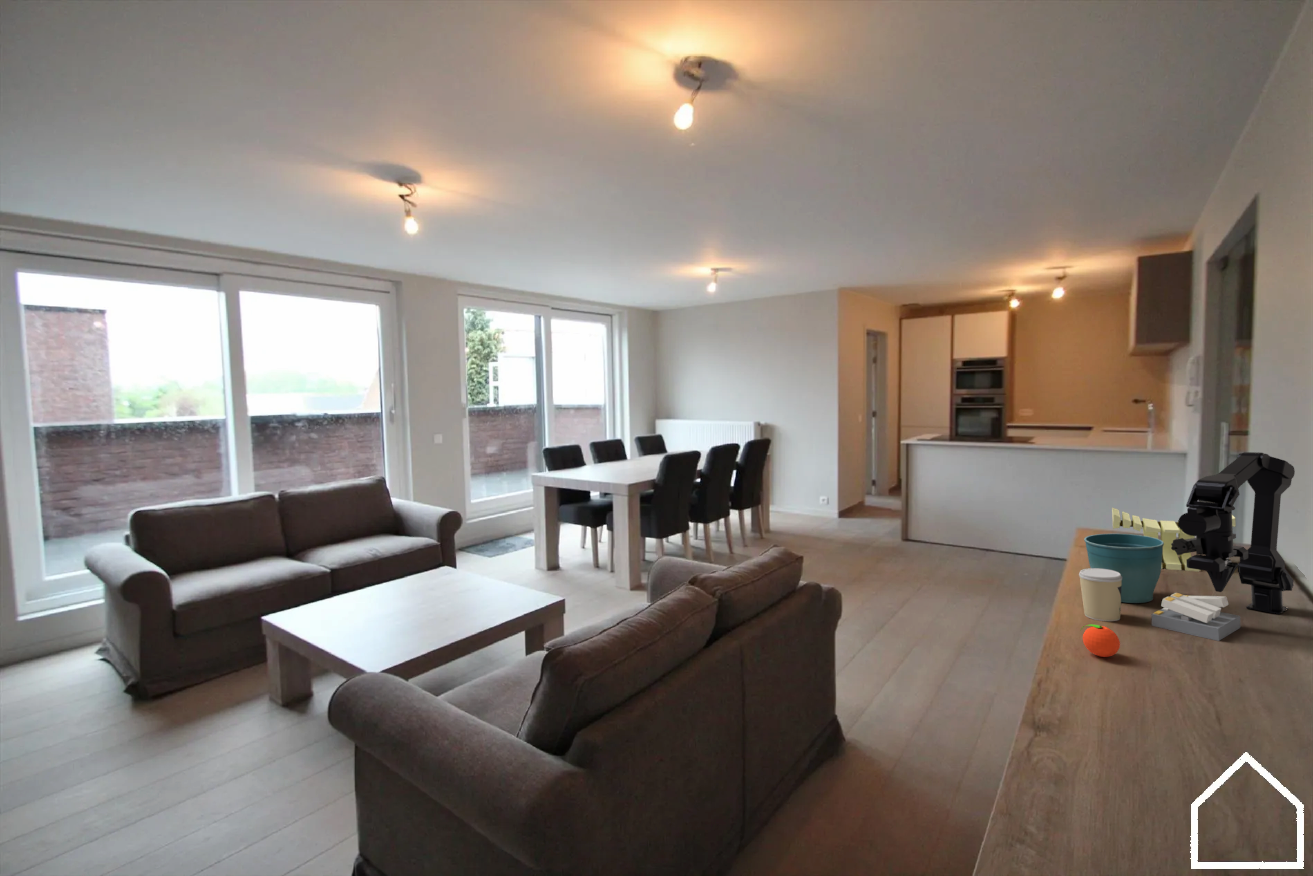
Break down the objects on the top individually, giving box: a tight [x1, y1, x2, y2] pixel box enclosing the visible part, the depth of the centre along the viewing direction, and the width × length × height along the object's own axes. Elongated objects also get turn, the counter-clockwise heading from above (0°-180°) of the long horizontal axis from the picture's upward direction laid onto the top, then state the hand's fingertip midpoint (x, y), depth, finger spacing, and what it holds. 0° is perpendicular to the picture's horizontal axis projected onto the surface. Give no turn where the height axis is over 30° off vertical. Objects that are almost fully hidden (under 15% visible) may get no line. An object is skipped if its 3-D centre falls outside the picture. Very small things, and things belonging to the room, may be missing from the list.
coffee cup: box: [1078, 567, 1122, 622], centre depth 159 cm, size 9×9×12 cm
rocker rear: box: [1183, 594, 1229, 608], centre depth 150 cm, size 3×9×2 cm, turn 29°
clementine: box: [1080, 623, 1121, 658], centre depth 137 cm, size 8×7×7 cm
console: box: [1150, 607, 1241, 642], centre depth 148 cm, size 13×13×4 cm
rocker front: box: [1160, 596, 1213, 623], centre depth 146 cm, size 3×9×2 cm, turn 29°
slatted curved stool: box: [1111, 507, 1237, 572], centre depth 199 cm, size 30×16×18 cm, turn 54°
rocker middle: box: [1169, 592, 1222, 618], centre depth 148 cm, size 3×9×2 cm, turn 29°
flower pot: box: [1083, 533, 1164, 604], centre depth 171 cm, size 18×18×17 cm
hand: (1219, 591), depth 147 cm, fingers closed
